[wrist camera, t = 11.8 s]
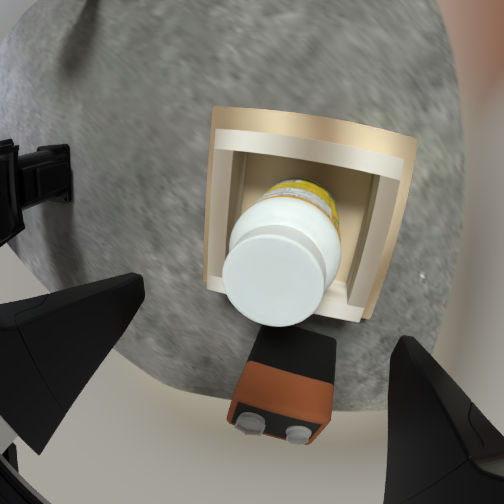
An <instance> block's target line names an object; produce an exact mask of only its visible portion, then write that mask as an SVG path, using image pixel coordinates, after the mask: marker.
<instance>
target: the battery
mask: <svg viewBox="0 0 504 504" xmlns="http://www.w3.org/2000/svg"><path fill="white" fill-rule="evenodd" d="M335 363H336V340H335V339H334V338H331V337H328V336H324V335H321V334H317V333H314V332H310V331H307V330H303V329H300V328H297V327H293V326H283V327H275V326H268V325H263V324H262V326H261V328H260V331H259V333H258V336H257V338H256V341H255V343H254V346H253V348H252V350H251V353H250V355H249V358H248V360H247V363H246V365H245V367H244V370H243V372H242V375H241V377H240V379H239V382H238V384H237V387H236V389H235V391H234V394H233V397H232V401H231V404H230V408H229V412H228V415H227V421H228V422H229V423H230V424H232V425H235V428H236V429H238V430H240V431H241V432H243V433H244V434H246V435H262V434H265V435H268V436H271V437H275V438H279V439H283V440H287V441H288V442H290V443H292V444H299V445H300V444H305V445H308V444H310V443H312V441H313V440H314V439H315V438H316V437H317V436H318V435H319V434H320V433H321V431H322V430H323V429H324V428H325V427H326V426H327V424H328V423H329V422H330V420H331V413H332V404H333V392H334V379H335Z"/></svg>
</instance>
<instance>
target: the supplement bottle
mask: <svg viewBox="0 0 504 504" xmlns="http://www.w3.org/2000/svg"><path fill="white" fill-rule="evenodd" d="M340 262H341V238H340V227H339V217H338V212H337V207H336V204H335V201H334V199H333V197H332V196H331V194H330V193H329V192H328V191H327V190H326V189H325V188H324V187H323V186H322V185H320V184H319V183H317V182H315V181H312V180H309V179H305V178H290V179H286V180H283V181H281V182H279V183H277V184H276V185H274V186H273V187H271V188H270V189H269V190H268V191H267V192H266V193H265V194H264V195H263V196H262V197H260V198H259V199H258V200H257V201H256V202H255V203H254V204H253V205H251V206H250V207H249V208H248V209H247V210H246V211H245V212H244V213H243V214H242V215H241V217H240V218H239V219H238V221H237V222H236V224H235V226H234V228H233V230H232V233H231V237H230V242H229V254H228V256H227V257H226V260H225V262H224V265H223V270H222V280H223V286H224V289H225V292H226V294H227V296H228V298H229V300H230V302H231V303H232V304H233V305H234V307H235V308H236V309H237V310H238V311H239V312H240V313H242V314H243V315H244V316H246V317H247V318H249V319H251V320H253V321H255V322H257V323H260V324H263V325H268V326H275V327H283V326H290V325H294V324H297V323H299V322H301V321H303V320H305V319H306V318H308V317H309V316H310V315H311V314H313V312H314V311H315V310H316V309H317V307H318V306H319V304H320V302H321V300H322V298H323V294H324V291H326V290H327V288H328V287H329V286H330V285H331V284H332V282H333V281H334V279H335V277H336V275H337V273H338V270H339V267H340Z"/></svg>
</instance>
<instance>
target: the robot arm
mask: <svg viewBox="0 0 504 504" xmlns="http://www.w3.org/2000/svg"><path fill="white" fill-rule="evenodd" d="M18 150H19V145H14V143H13V141H12V139H7V140H2V141H0V247H1V246H3V245H4V244H5V243H6V242H8V241H9V240H10V239H12V238H13V237H14V236H16V235H17V234H18V233H20V232H21V231H22V230H24V229H25V224H24V222H23V215H22V211H23V210H25V209H28V208H30V207H33V206H35V205H38V204H40V203H43V202H46V201H54V202H60V203H69V202H70V201H71V192H70V175H69V146H68V144H58V145H48V146H40V147H38V148H37V152H34V153H30V154H25V155H21V156H18ZM144 298H145V290H144V281H143V277H142V276H141V275H140V274H136V273H128V274H124V275H120V276H116V277H112V278H108V279H104V280H100V281H96V282H92V283H88V284H84V285H80V286H76V287H72V288H68V289H65V290H61V291H57V292H53V293H50V294H45V295H41V296H37V297H33V298H29V299H24V300H19V301H14V302H9V303H4V304H0V504H51V503H50V502H49V501H47V500H46V499H45V498H44V497H43V496H42V495H41V494H39V493H38V492H37V491H36V490H35V489H34V488H33V487H32V486H30V484H29V483H28V482H27V481H25V479H24V478H23V477H22V476H21V475H20V474H19V473H18V462H17V450H16V445H15V444H14V443H13V441H14V440H15V439H16V437H17V436H19V437H20V438H21V439H22V440H23V441H24V442H25V443H26V444H27V445H28V446H29V447H30V448H31V449H32V450H33V451H34V452H36V453H37V454H38V455H40V454H41V453H42V451H43V449H44V448H45V446H46V445H47V443H48V442H49V440H50V438H51V437H52V435H53V434H54V432H55V430H56V429H57V427H58V426H59V424H60V423H61V421H62V420H63V418H64V417H65V415H66V413H67V412H68V410H69V409H70V407H71V406H72V404H73V403H74V401H75V400H76V398H77V397H78V395H79V394H80V393H81V391H82V390H83V388H84V387H85V385H86V384H87V383H88V381H89V379H90V378H91V377H92V375H93V374H94V373H95V371H96V370H97V369H98V367H99V366H100V364H101V363H102V361H103V360H104V359H105V357H106V356H107V355H108V353H109V352H110V351H111V349H112V348H113V347H114V345H115V344H116V343H117V341H118V340H119V339H120V337H121V336H122V335H123V333H124V332H125V330H126V329H127V327H128V325H129V324H130V322H131V320H132V319H133V317H134V316H135V314H136V312H137V311H138V309H139V307H140V306H141V304H142V303H143V301H144ZM383 504H504V436H503V435H502V434H501V433H500V432H499V431H498V430H497V429H496V428H495V427H494V426H493V425H492V424H491V422H490V421H489V420H488V419H487V418H486V417H485V416H484V415H483V414H482V413H481V411H480V410H479V409H478V408H477V407H476V405H475V404H474V403H473V402H471V400H470V398H469V397H468V396H467V395H466V394H465V393H464V391H463V390H462V389H461V388H460V387H459V386H458V385H457V384H456V382H455V381H454V380H453V379H452V378H451V377H450V376H449V375H448V373H446V371H445V370H444V369H443V368H442V367H441V366H440V365H439V364H438V363H437V361H436V360H435V359H434V358H433V357H432V356H431V355H430V354H429V353H428V352H427V351H426V350H425V349H424V348H423V346H422V345H421V344H420V343H419V342H418V341H417V340H416V339H415V338H414V337H412V336H406V335H403V336H401V337H400V338H399V340H398V342H397V344H396V346H395V348H394V350H393V352H392V354H391V358H390V373H389V388H388V452H387V470H386V482H385V493H384V502H383Z"/></svg>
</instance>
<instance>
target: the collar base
mask: <svg viewBox="0 0 504 504" xmlns="http://www.w3.org/2000/svg"><path fill="white" fill-rule="evenodd" d="M417 143H418V139H416V138H412V137H409V136H405V135H402V134H398V133H395V132H391V131H387V130H383V129H379V128H375V127H371V126H366V125H362V124H357V123H353V122H348V121H343V120H337V119H332V118H326V117H320V116H314V115H307V114H300V113H292V112H284V111H275V110H264V109H252V108H236V107H213V111H212V121H211V133H210V145H209V158H208V173H207V189H206V207H205V230H204V261H203V283H205V284H207V289H209V290H213V291H217V292H221V293H225V294H226V292H225V289H224V286H223V280H222V270H223V265H224V262H225V260H226V257H227V256H228V254H229V242H230V237H231V233H232V230H233V228H234V226H235V224H236V222H237V221H238V219H239V218H240V217H241V215H242V214H243V213H244V212H245V211H246V210H247V209H248V208H249V207H250V206H251V205H253V204H254V203H255V202H256V201H257V200H258V199H259V198H260V197H262V196H263V195H264V194H265V193H266V192H267V191H268V190H269V189H270V188H271V187H273V186H274V185H276V184H277V183H279V182H281V181H283V180H286V179H290V178H305V179H309V180H312V181H315V182H317V183H319V184H320V185H322V186H323V187H324V188H325V189H326V190H327V191H328V192H329V193H330V194H331V196H332V197H333V199H334V201H335V204H336V207H337V212H338V217H339V227H340V238H341V262H340V267H339V270H338V273H337V275H336V277H335V279H334V281H333V282H332V284H331V285H330V286H329V287H328V288H327V290H326V291H324V294H323V298H322V300H321V302H320V304H319V306H318V307H317V309H316V310H315V311H314V312H313V314H317V315H322V316H327V317H332V318H338V319H343V320H348V321H353V322H360V319H361V318H365V319H370V317H371V315H372V312H373V310H374V307H375V304H376V302H377V299H378V296H379V293H380V291H381V288H382V285H383V282H384V279H385V276H386V273H387V270H388V267H389V264H390V261H391V257H392V254H393V251H394V247H395V244H396V240H397V237H398V233H399V229H400V226H401V222H402V218H403V214H404V210H405V206H406V201H407V197H408V192H409V188H410V183H411V178H412V173H413V167H414V162H415V156H416V150H417Z"/></svg>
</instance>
